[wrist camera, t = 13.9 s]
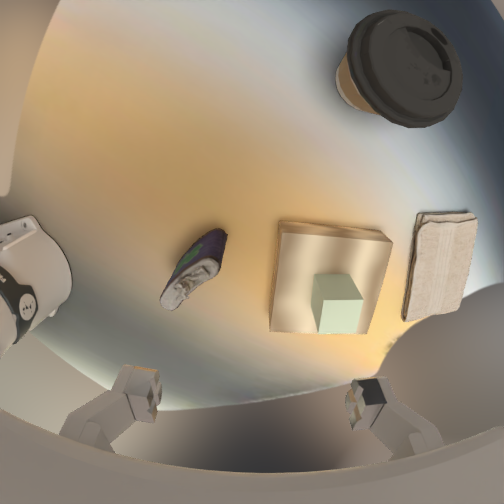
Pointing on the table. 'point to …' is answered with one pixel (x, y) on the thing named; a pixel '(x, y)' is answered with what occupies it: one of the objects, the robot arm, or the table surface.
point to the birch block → (324, 270)
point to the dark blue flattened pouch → (195, 268)
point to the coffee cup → (400, 70)
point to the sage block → (335, 303)
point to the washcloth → (438, 263)
